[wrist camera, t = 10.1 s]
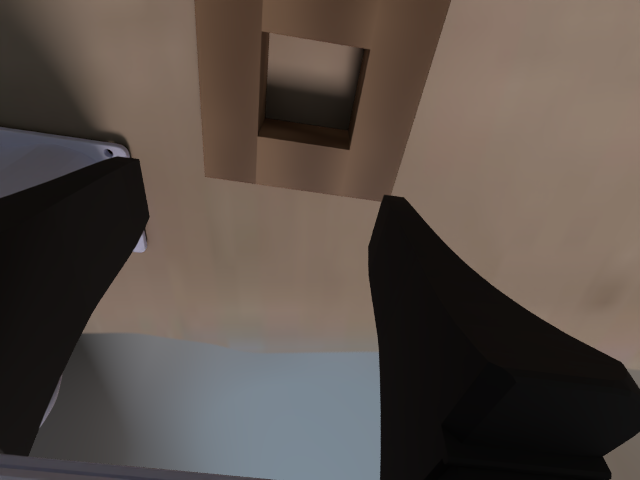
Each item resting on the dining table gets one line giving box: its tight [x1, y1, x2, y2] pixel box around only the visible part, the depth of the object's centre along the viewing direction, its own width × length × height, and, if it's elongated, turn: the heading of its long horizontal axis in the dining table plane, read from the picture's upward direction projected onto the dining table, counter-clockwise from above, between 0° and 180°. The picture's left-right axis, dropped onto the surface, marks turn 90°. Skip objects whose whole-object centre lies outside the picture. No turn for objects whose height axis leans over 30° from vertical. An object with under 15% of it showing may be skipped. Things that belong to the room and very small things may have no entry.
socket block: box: [194, 0, 451, 202], centre depth 18 cm, size 10×10×2 cm
